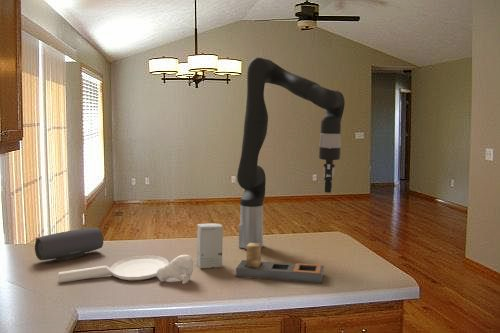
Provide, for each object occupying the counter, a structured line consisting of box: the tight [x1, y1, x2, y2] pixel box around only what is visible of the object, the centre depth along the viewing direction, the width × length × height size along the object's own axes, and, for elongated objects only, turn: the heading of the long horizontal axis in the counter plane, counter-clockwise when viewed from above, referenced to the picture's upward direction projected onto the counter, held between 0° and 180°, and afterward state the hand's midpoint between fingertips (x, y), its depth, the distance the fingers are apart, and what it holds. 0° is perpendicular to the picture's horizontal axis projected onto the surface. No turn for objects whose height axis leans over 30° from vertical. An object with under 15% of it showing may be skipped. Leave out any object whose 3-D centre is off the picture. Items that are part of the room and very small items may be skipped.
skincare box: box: [196, 222, 224, 270], centre depth 166 cm, size 8×6×15 cm
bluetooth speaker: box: [34, 227, 104, 261], centre depth 176 cm, size 23×9×10 cm, turn 135°
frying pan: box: [58, 254, 170, 284], centre depth 156 cm, size 35×19×5 cm, turn 111°
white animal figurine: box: [156, 254, 194, 285], centre depth 151 cm, size 6×8×12 cm
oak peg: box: [246, 243, 262, 268], centre depth 158 cm, size 4×4×10 cm
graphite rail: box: [235, 259, 325, 284], centre depth 157 cm, size 28×9×3 cm, turn 77°
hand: (328, 190), depth 172 cm, fingers open, 8 cm apart
